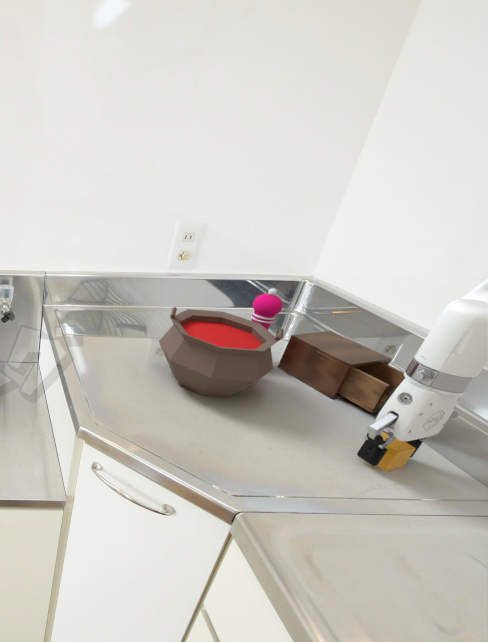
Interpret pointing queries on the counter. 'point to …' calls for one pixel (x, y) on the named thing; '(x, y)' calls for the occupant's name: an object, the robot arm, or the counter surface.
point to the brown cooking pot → (217, 351)
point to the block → (395, 454)
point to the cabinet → (326, 360)
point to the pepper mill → (266, 308)
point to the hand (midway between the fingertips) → (383, 456)
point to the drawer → (373, 386)
